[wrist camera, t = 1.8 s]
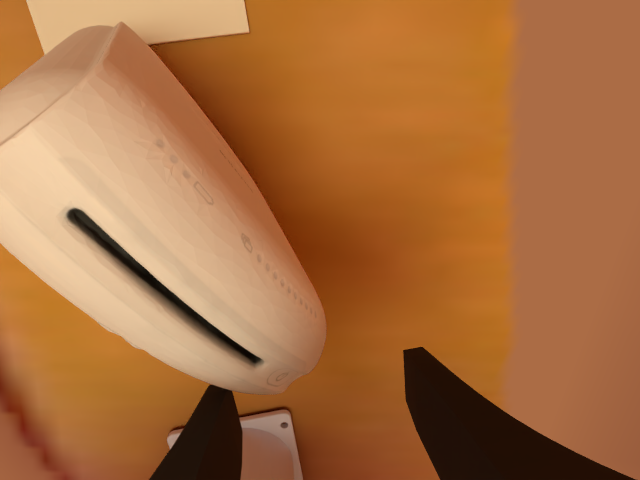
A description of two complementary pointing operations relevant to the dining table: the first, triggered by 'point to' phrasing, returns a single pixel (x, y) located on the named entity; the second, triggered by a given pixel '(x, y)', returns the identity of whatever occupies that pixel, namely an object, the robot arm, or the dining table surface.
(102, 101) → the photo printer
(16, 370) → the dining table surface
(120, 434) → the dining table surface
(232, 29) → the mat
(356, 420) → the dining table surface
